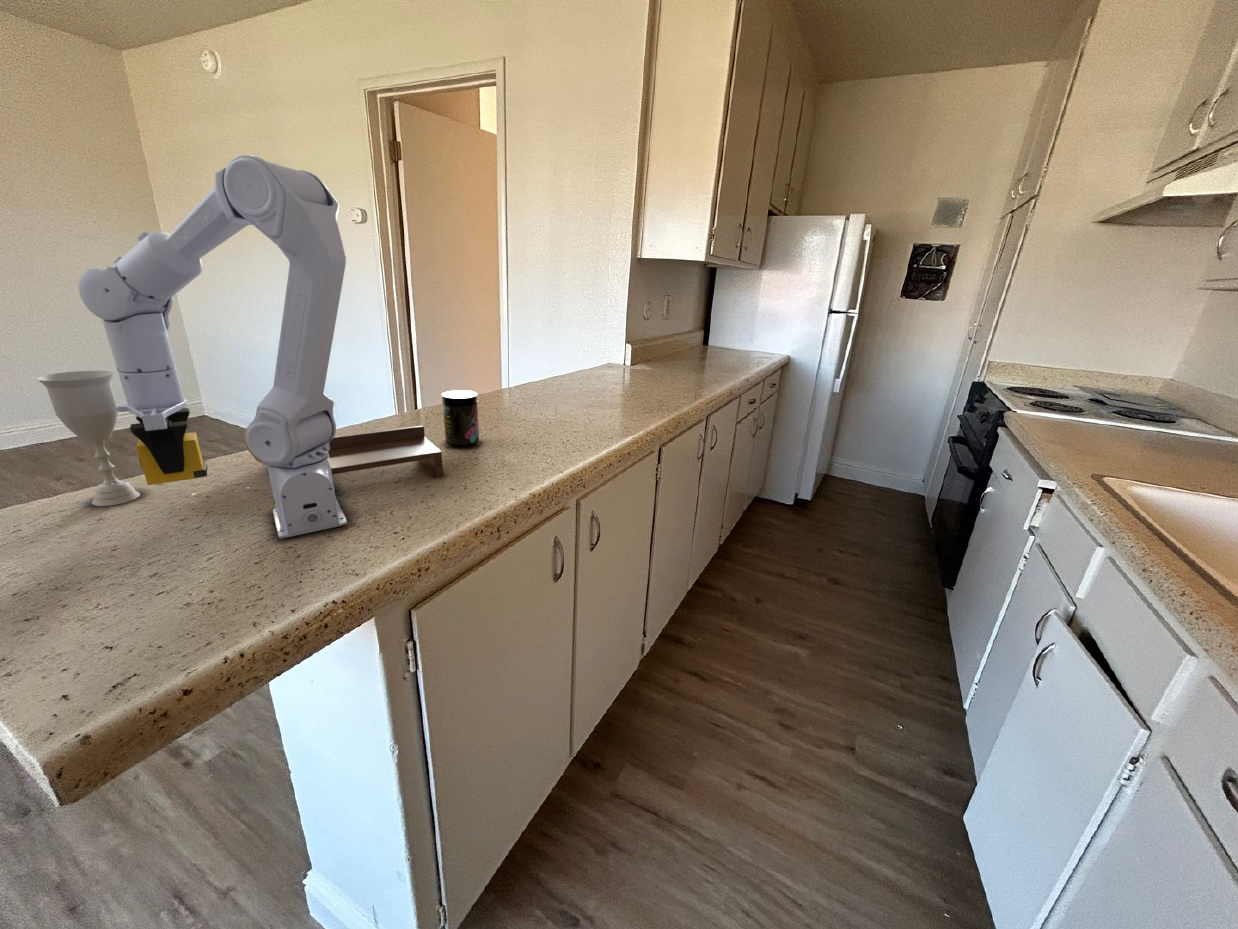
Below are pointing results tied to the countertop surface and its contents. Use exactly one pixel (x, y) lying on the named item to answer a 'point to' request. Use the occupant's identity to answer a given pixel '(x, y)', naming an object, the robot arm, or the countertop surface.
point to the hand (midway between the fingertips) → (175, 466)
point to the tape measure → (192, 469)
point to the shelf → (383, 450)
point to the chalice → (90, 422)
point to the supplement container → (460, 418)
